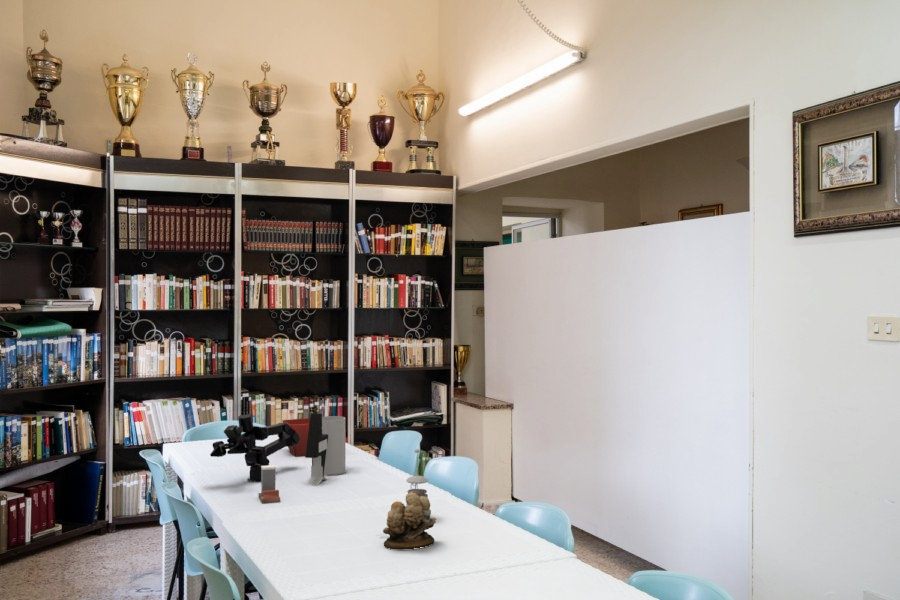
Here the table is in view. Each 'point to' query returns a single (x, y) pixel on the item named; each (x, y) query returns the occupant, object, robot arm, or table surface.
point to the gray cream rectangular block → (267, 478)
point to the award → (316, 449)
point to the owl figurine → (409, 523)
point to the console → (269, 496)
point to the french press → (417, 482)
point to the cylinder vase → (334, 444)
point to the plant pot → (302, 429)
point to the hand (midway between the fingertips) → (219, 454)
